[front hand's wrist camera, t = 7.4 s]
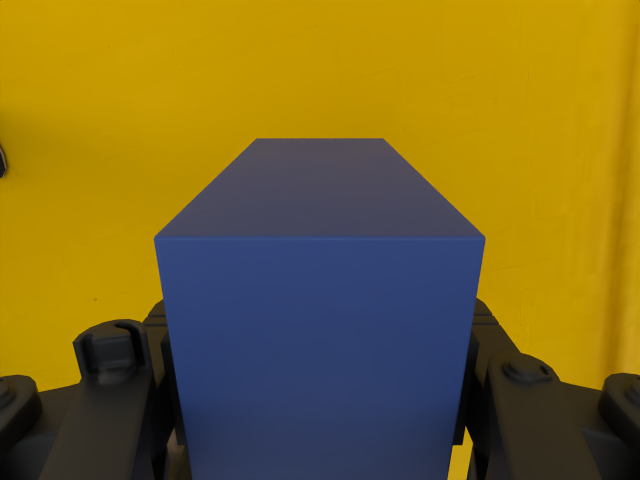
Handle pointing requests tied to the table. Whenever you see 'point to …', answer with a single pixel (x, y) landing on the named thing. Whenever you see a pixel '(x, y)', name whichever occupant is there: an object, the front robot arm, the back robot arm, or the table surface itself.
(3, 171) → the figurine
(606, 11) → the table surface
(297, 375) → the brick
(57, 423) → the front robot arm
